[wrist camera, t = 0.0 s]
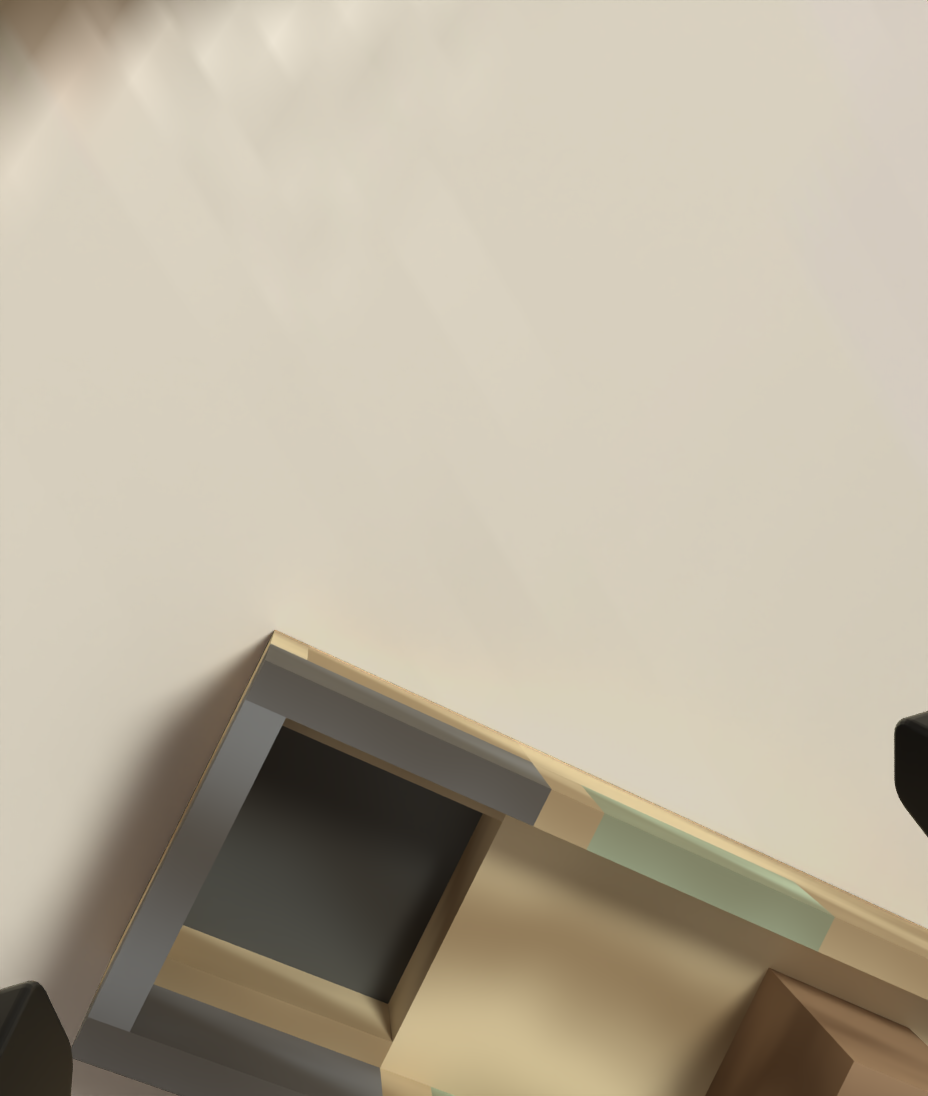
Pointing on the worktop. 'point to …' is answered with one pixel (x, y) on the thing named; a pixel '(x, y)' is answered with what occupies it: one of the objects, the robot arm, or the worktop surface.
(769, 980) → the walnut block
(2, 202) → the worktop surface
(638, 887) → the box
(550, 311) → the worktop surface
